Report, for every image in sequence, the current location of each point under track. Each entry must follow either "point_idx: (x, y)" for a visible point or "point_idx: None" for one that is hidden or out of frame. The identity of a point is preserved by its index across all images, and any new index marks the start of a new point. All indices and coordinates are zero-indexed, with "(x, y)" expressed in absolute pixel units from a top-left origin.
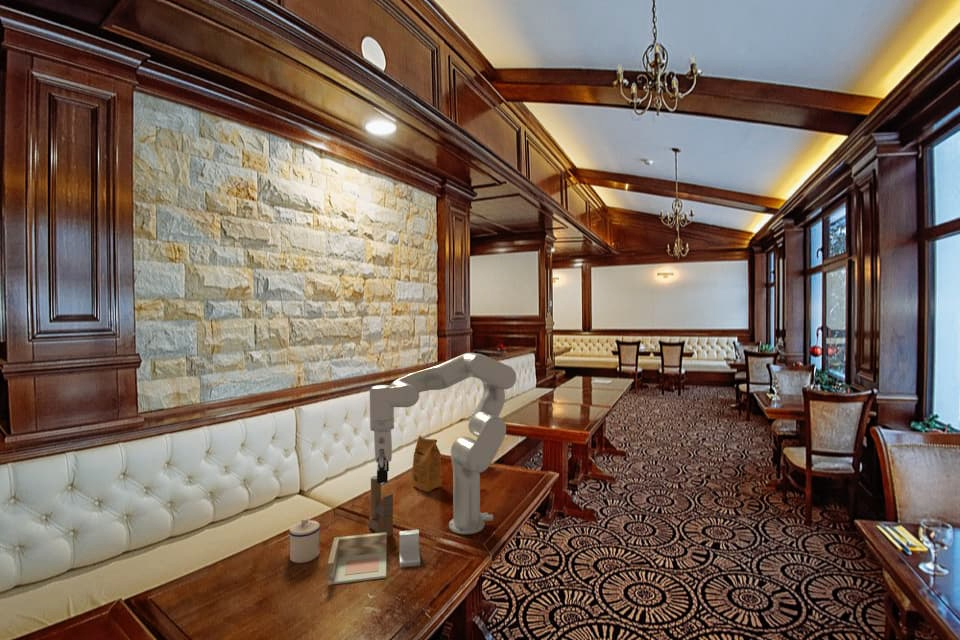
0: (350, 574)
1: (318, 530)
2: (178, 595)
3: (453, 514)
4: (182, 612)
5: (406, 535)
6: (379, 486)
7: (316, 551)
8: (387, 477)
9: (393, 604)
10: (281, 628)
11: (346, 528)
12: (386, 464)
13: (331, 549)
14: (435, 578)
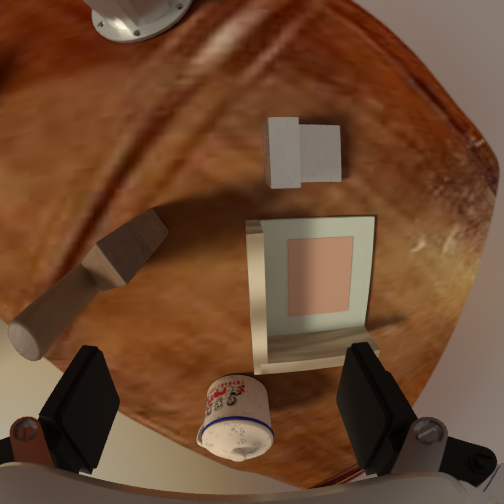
0: (348, 299)
1: (242, 415)
2: (311, 476)
3: (127, 15)
4: (350, 461)
5: (299, 162)
6: (47, 310)
7: (250, 385)
8: (380, 364)
9: (451, 200)
10: (435, 360)
11: (114, 333)
12: (428, 465)
13: (317, 368)
14: (394, 100)
